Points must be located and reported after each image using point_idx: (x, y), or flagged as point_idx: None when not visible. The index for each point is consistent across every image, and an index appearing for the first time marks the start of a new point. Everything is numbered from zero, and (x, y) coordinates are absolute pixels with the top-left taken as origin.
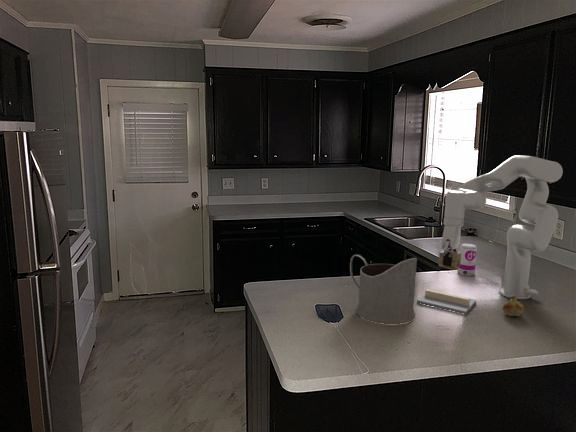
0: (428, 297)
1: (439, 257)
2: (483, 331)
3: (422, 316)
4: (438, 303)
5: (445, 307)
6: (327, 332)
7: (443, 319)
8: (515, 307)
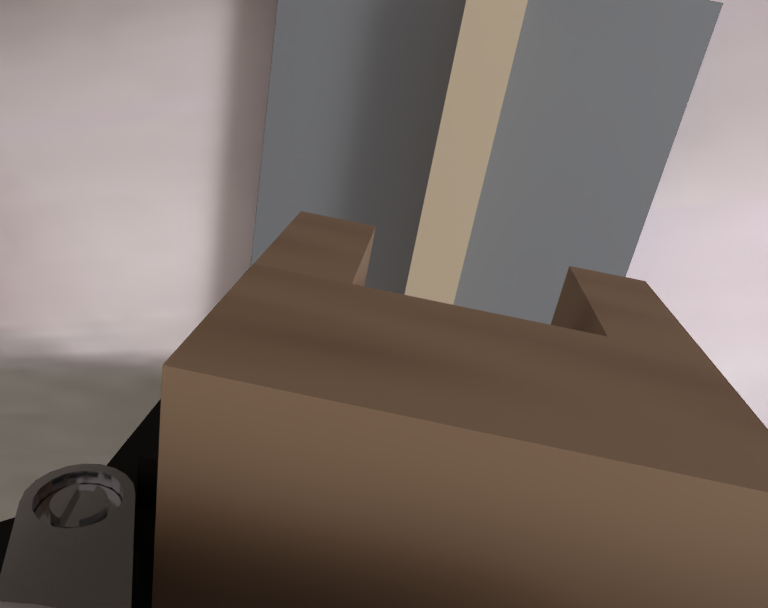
0: (433, 36)
1: (232, 294)
2: (37, 473)
3: (8, 55)
4: (305, 162)
5: (255, 231)
6: None
7: (61, 230)
8: None
